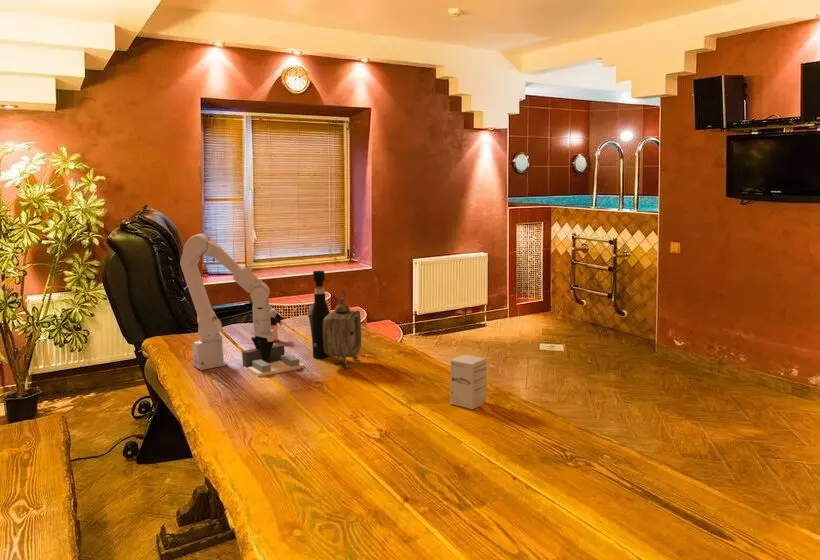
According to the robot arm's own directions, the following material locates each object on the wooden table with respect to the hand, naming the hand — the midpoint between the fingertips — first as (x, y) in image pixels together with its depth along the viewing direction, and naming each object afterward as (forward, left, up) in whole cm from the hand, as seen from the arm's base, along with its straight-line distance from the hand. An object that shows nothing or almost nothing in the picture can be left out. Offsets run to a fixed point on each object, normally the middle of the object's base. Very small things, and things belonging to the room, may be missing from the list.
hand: (263, 358), depth 219 cm
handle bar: (0, 0, -2) cm, 2 cm away
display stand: (0, -10, -1) cm, 10 cm away
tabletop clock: (+20, -19, -2) cm, 28 cm away
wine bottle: (+19, -6, -2) cm, 20 cm away
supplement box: (+28, -74, -2) cm, 79 cm away
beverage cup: (+26, +10, -2) cm, 28 cm away
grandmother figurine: (+15, +26, -2) cm, 30 cm away
